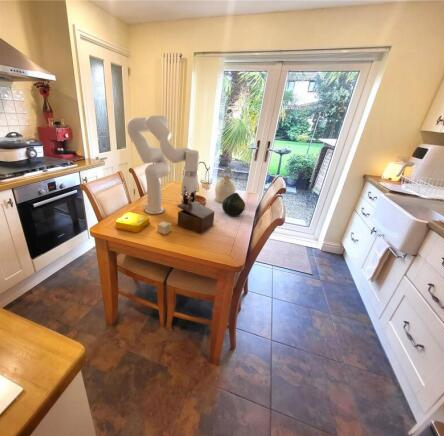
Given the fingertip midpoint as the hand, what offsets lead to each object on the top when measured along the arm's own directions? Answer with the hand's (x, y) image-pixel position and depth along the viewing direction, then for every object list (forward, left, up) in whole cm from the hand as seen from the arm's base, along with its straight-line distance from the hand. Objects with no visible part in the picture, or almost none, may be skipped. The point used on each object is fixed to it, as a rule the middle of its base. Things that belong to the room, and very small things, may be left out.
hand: (188, 202), depth 138 cm
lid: (+5, -2, -3) cm, 6 cm away
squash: (+23, +26, -13) cm, 38 cm away
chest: (+5, -2, -13) cm, 14 cm away
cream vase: (+13, +49, -13) cm, 53 cm away
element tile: (-29, -17, -13) cm, 36 cm away
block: (-9, -17, -13) cm, 23 cm away
